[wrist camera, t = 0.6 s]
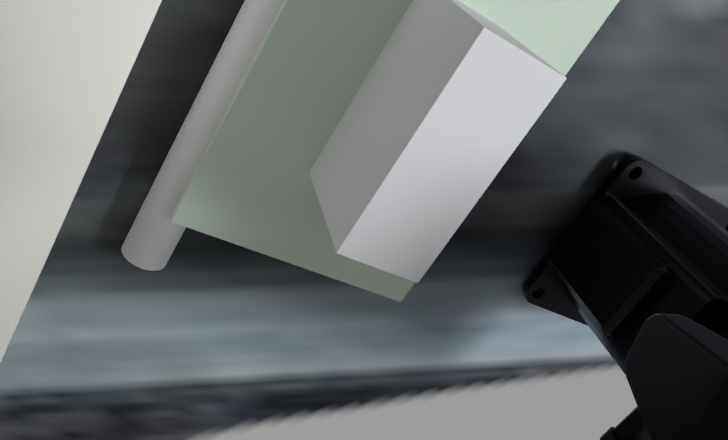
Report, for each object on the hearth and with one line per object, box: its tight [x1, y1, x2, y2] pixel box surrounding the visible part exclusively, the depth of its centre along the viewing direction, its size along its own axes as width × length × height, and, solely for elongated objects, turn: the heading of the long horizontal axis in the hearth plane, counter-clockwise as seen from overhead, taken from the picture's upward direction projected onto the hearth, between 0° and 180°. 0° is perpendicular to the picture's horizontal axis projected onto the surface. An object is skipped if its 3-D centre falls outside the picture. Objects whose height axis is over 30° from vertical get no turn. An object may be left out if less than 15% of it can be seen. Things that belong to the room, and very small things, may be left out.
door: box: [121, 0, 620, 302], centre depth 18 cm, size 9×16×6 cm, turn 148°
